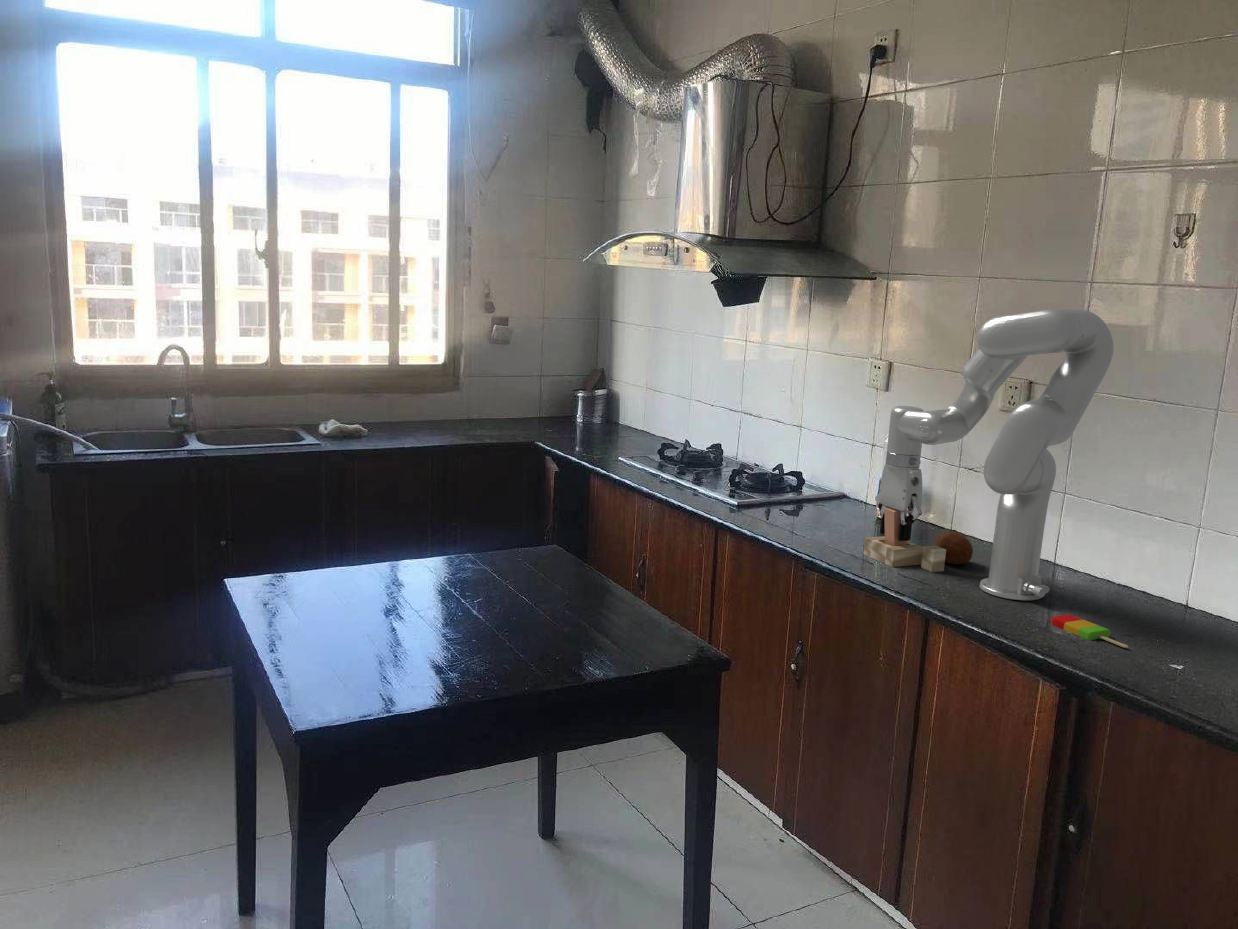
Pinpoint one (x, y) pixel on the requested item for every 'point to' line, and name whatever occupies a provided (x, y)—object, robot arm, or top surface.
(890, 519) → the long peg
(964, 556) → the brown oval lump
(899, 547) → the slot block
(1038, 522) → the robot arm
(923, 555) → the short peg
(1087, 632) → the popsicle
